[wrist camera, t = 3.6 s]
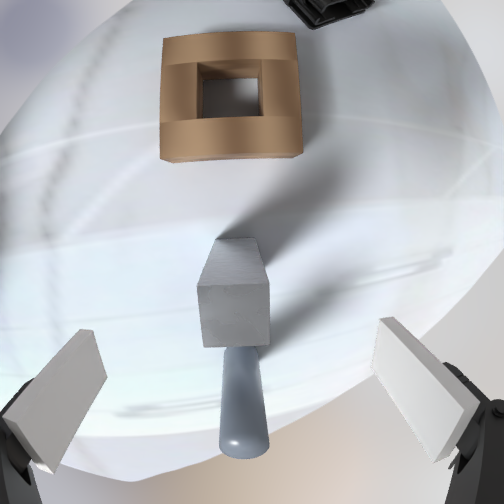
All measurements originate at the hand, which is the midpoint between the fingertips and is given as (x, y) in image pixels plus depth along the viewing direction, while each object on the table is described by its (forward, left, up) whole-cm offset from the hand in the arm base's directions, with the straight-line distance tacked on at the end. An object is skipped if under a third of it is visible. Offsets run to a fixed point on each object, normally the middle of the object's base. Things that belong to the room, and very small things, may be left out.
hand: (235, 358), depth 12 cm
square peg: (0, 0, -18) cm, 19 cm away
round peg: (0, -12, -18) cm, 22 cm away
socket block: (0, +16, -18) cm, 24 cm away
